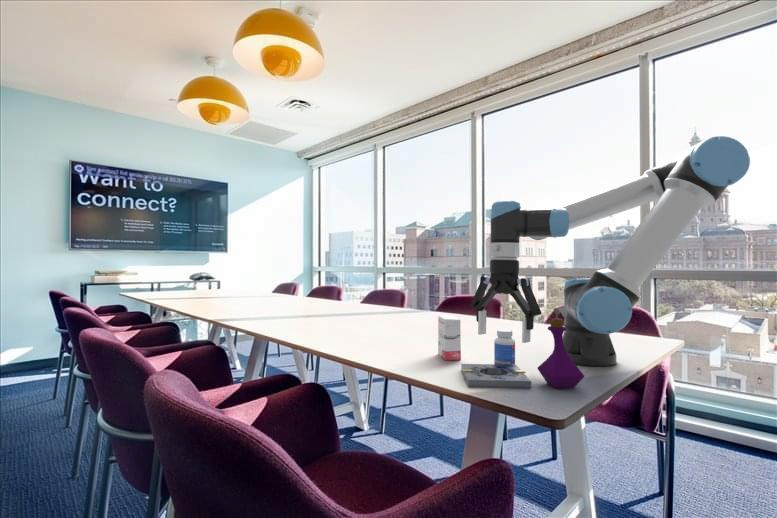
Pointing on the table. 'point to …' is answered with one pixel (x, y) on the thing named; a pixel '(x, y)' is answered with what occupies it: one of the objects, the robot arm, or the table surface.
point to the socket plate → (507, 378)
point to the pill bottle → (504, 348)
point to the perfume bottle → (560, 359)
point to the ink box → (449, 338)
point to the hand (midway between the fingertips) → (503, 338)
